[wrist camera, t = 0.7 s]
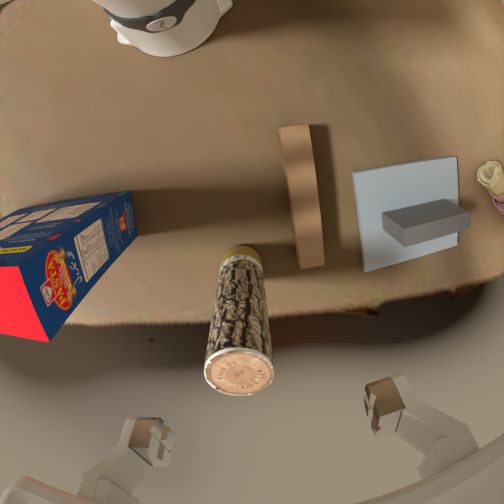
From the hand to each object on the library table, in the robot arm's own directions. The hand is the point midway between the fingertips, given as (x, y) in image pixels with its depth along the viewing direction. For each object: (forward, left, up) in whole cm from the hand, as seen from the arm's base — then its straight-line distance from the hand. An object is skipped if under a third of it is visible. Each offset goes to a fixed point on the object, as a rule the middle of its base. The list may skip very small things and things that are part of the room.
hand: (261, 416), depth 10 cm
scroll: (+10, +53, -38) cm, 66 cm away
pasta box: (-5, -33, -38) cm, 51 cm away
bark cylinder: (+11, -4, -38) cm, 40 cm away
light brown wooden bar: (+2, +8, -38) cm, 39 cm away
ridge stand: (+9, +28, -38) cm, 48 cm away
